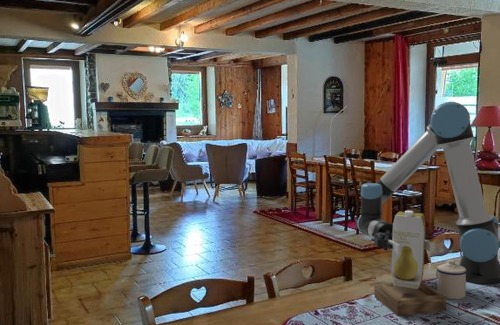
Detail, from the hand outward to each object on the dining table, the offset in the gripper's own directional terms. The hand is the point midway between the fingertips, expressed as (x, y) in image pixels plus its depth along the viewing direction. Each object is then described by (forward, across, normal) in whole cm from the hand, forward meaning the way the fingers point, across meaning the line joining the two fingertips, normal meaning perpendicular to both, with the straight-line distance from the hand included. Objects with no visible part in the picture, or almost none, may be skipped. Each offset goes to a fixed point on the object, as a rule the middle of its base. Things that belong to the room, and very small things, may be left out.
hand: (415, 248), depth 151 cm
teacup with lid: (-9, -17, -19) cm, 27 cm away
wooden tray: (-4, 0, -19) cm, 19 cm away
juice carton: (-4, 0, -13) cm, 14 cm away
